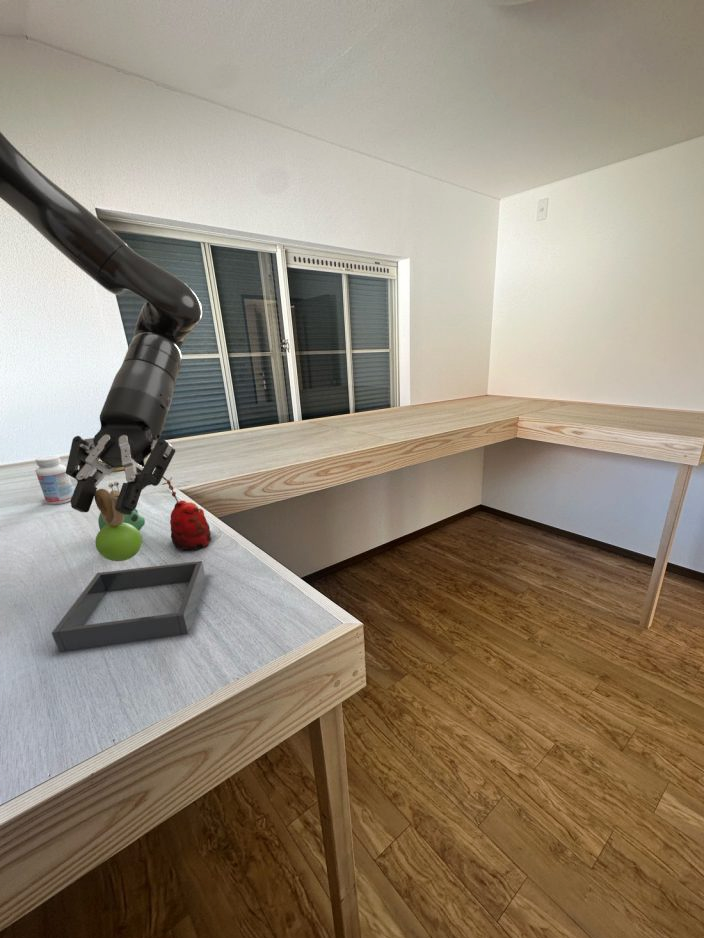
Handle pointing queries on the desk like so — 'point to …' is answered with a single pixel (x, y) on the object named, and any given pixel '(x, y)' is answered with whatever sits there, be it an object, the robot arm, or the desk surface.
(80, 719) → the desk surface
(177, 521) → the red bumpy rounded piece
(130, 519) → the alien toy
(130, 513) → the robot arm
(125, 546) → the snail figurine
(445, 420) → the desk surface
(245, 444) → the desk surface
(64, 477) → the pill bottle
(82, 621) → the grey open frame
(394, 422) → the desk surface
